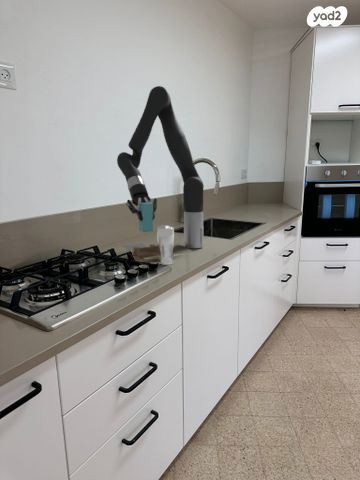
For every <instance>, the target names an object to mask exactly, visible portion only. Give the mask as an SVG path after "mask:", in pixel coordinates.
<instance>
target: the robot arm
mask: <svg viewBox="0 0 360 480" xmlns="http://www.w3.org/2000/svg"><path fill="white" fill-rule="evenodd" d="M157 117H158V119H159V121H160V124H161V127H162V133H163V136H164V141H165V143H166V146H167V148H168V149H167V150H168V151H169V154H170V156H171V158H172V159H173V161H174V163H175V165H176V166H177V168H178V170H179V172H180V174H181V178H182V181H183V186H182V188H183V189H182V191H183V192H182V193H183V194H182V195H183V199H182V200H183V202H182V203H183V247H184V248H187V249H201V248H202V249H203V247H204V186H205V185H204V182H203V180H202V178H201V177H200V175H199V173H198V171H197V168H196V166H195V163H194V159H193V155H192V153H191V150H190V145H189V144H188V141H187V138H186V135H185V133H184V131H183V129H182V127H181V125H180V123H179V121H178V119H177V117H176V113H175V111H174V107H173V103H172V99H171V96H170V93H169V91H168V90H167V88H165V87H164V86H162V85H158V86H155V87H152V88H151V89H150V91H149V94H148V97H147V101H146V104H145V107H144V110H143V113H142V115H141V117H140V119H139V121H138V124H137V126H136V127H135V130H134V132H133V133H132V135H131V138H130V140H129V142H128V147H129V149H130V150H132V154H130V153H128V152H125V151H123V152H120V153H119V154H118V155H117V159H116V163H117V166H118V169H120V171H121V173H122V175H123V176H124V177H125V181H126V184H127V189H128V192H129V195H130V197H131V199H127V200H126V206H127V207H128V209H129V211H130V212H131V213H132V214H135V215H137V219H138V221H139V220H140V221H142V220H143V216H142V213H141V211H140V205H139V203H145V202H149V203H153V221H154V220H155V218H156V214H155V213H156V211H157V209H158V200H157V198H156V197H155V198H151V197H150V196H149V192H148V189H147V187H146V184H145V181H144V180H143V177H142V174H141V171H140V170H139V169H138V168H139V167H140V164H141V159H142V156H143V151H144V148H145V146H146V145H147V142H148V140H149V138H150V136H151V133H152V130H153V127H154V123H155V121H156V120H157Z"/></svg>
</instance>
